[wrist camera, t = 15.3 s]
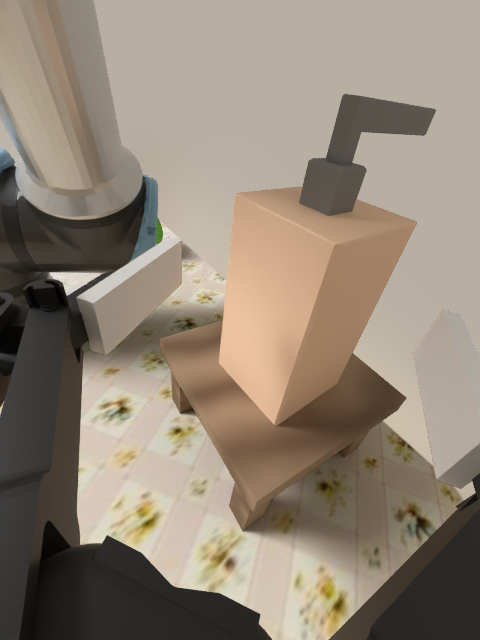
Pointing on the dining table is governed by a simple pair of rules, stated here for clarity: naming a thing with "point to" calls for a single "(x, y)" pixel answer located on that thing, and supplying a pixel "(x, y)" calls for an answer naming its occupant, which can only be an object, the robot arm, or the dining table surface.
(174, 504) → the dining table surface
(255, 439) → the walnut stool
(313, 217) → the soap dispenser
